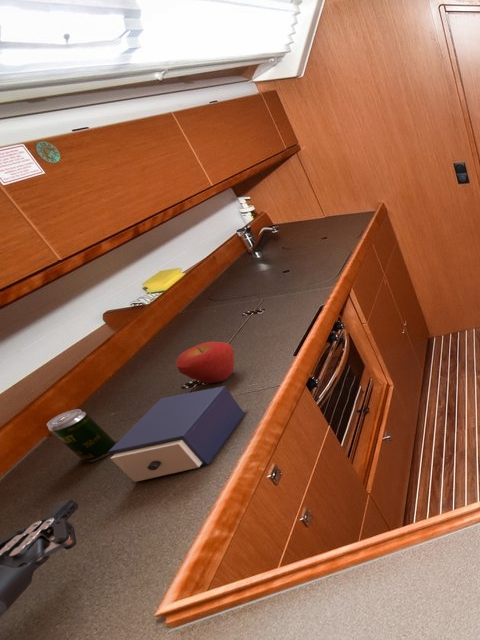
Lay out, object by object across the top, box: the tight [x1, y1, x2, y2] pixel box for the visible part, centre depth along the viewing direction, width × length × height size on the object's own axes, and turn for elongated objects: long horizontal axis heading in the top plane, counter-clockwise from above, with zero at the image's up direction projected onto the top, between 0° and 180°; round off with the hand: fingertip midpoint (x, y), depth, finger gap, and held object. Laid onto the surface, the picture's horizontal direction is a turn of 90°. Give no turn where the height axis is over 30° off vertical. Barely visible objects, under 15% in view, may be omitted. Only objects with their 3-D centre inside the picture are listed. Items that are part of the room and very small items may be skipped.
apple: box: [175, 341, 235, 384], centre depth 114 cm, size 11×11×12 cm
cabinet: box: [108, 385, 245, 467], centre depth 95 cm, size 16×13×10 cm
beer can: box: [46, 408, 117, 463], centre depth 93 cm, size 5×5×12 cm
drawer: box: [110, 440, 202, 483], centre depth 93 cm, size 16×12×8 cm
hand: (69, 503), depth 74 cm, fingers closed
